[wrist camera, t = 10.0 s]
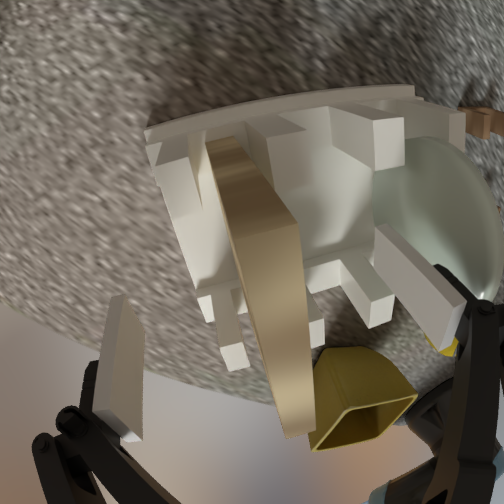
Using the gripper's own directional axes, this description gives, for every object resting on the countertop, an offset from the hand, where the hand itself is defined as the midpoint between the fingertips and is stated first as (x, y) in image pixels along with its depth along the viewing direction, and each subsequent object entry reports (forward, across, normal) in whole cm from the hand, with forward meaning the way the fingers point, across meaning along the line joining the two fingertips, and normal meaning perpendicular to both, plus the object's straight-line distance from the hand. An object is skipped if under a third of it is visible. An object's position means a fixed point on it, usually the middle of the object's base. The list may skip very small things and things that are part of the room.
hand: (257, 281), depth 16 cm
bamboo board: (+5, 0, 0) cm, 5 cm away
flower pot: (+8, -7, +20) cm, 23 cm away
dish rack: (+7, -5, 0) cm, 9 cm away
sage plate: (+5, -10, 0) cm, 11 cm away
